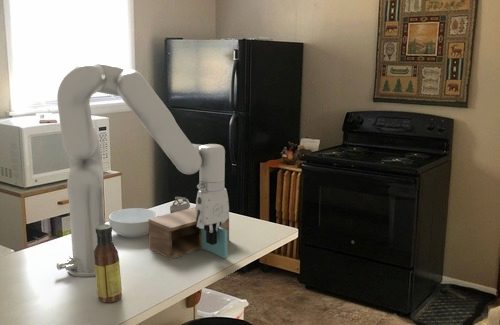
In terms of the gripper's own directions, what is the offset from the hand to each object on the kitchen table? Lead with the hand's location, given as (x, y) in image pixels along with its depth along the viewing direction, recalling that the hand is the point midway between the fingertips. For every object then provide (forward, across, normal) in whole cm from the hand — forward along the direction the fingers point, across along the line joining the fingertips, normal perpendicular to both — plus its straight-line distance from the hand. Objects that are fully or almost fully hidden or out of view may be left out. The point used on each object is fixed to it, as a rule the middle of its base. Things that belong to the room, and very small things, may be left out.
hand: (211, 243), depth 173 cm
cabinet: (+5, +3, +15) cm, 16 cm away
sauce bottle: (+6, -37, -2) cm, 37 cm away
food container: (+6, +11, +30) cm, 32 cm away
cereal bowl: (+6, -5, +36) cm, 36 cm away
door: (+5, +4, +3) cm, 7 cm away
